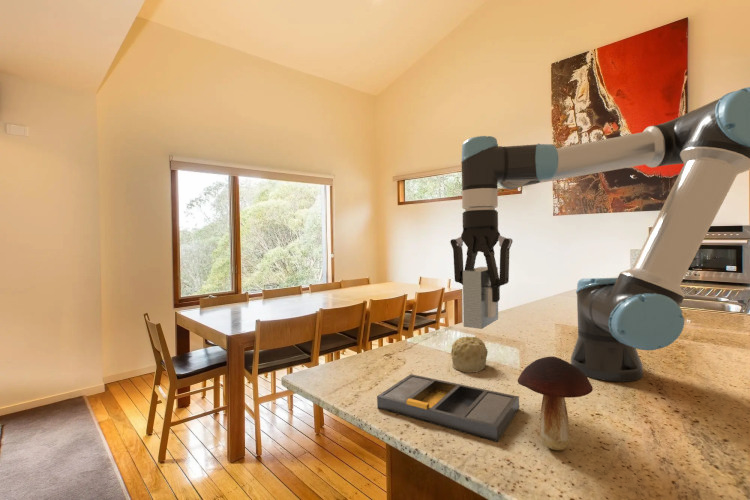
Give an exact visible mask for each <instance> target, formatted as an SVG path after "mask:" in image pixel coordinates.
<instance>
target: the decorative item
mask: <svg viewBox="0 0 750 500" xmlns="http://www.w3.org/2000/svg"><path fill="white" fill-rule="evenodd" d="M450 351H451V352H450V356H451V360H452V367H453V368H454V369H455V370H457V371H460V372H463V373H477V372H478V373H479V372H481V371H482V370H484V369H485V368H486V364H487V357H488V352H489V351H488V349H487V347H486V344H485V343H484V342H483V340H482V339H480V338H479V337H478V336H463V337H459V338H458V339H456V340H455V341H454V342H453V344H452V345H451V350H450Z"/></svg>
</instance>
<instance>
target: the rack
mask: <svg viewBox="0 0 750 500" xmlns="http://www.w3.org/2000/svg"><path fill="white" fill-rule="evenodd" d="M376 403H377V406H376V407H377V409H379V410H383V411H387V412H390V413H393V414H398V415H401V416H404V417H408V418H412V419H415V420H418V421H422V422H425V423H428V424H429V423H430V424H433V425H436V426H439V427H443V428H447V429H450V430H454V431H458V432H461V433H463V434H464V433H465V434H468V435H471V436H475V437H478V438H483V439H485V440H489V441H493V442H495V443H498V442H499V440H500V439H501V437H502V435H503V434H504V433H505V431H506V430H507V428H508V427H509V425H510V424H511V422H512V421H513V419H514V418H515V416H516V414H517V413H518V411H519V410H520V396H517V395H514V394H507V393H504V392H499V391H494V390H490V389H489V390H488V389H484V388H480V387H474V386H471V385H466V384H462V383H461V384H460V383H457V382H456V383H455V382H450V381H446V380H442V379H441V380H440V379H435V378H431V377H427V376H422V375H417V374H412V373H411V374H409V375H407V376H406V377H404V378H402V379H401V380H399V381H398V382H396V383H395V384H393V385H392V386H391V387H389V388H387V389H386V390H384V391H383V392H381V393H379V394H378V395H377V396H376Z"/></svg>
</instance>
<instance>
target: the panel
mask: <svg viewBox="0 0 750 500" xmlns="http://www.w3.org/2000/svg"><path fill="white" fill-rule="evenodd" d="M498 268H499V267H498V266H497V270H499V269H498ZM464 270H465V269H464ZM490 285H491V282H490V278H489V273H488V268H487V266H478V267H474V268H473V269H469V270H465V271H463V285H462V301H463V303H462V305H463V306H462V307H463V308H462V310H463V311H462V312H463V314H462V315H463V328H464V327H465V328H472V329H478V330H482V329H485V328H486V327H488V326H489V325H491V324H492V323H494V322H497V321H498V320H499V301H498V302H495V303H496V316H494V317H492V318H488V287H490Z"/></svg>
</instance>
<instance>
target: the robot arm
mask: <svg viewBox="0 0 750 500" xmlns="http://www.w3.org/2000/svg"><path fill="white" fill-rule="evenodd" d="M497 139H498V138H496V137H494V136H489V135H488V136H487V135H480V136H479V135H478V136H473V137H469V138H467V139H466V140H464V141H463V143H462V145H461V162H460V163H461V188H462V189H461V190H462V191H461V193H462V195H461V200H462V201H461V206H462V207H461V208H462V209H463V210H464V211H463V212H462V213H461V214H462V233H461V236H459V237H457V238H453V239H451V240H450V241H449V243H450V245H451V249H452V251H453V255H452V256H453V270H454V271H453V272H454V281H455V283H459V284H461V285H462V286H463V271H465V270H469V269H473V268H475V265H476V259H477V256H478V253H479V252H480V253H482V254H483V257H484V258H485V259H484V260H485V263H486V267H487V268H488V273H489V278H490V282H491V285H490V287H488V318H492V317H494V316H496V303H495V302H498V303H499V301H500V300H501V299H500V297H501V296H500V294H501V293H500V290H501V289H500V288H501V286H504V285H507V284H508V283H509V278H510V275H509V273H510V249H511V247H512V244H513V239H512V238H509V237H508V238H507V237H504V236H503V235H501V233H500V231H499V212H498V210H496V209H495V208H498V207H499V206H498V203H499V201H498V200H499V199H498V198H499V197H498V196H499V194H498V193H499V191H498V188H499V187H498V184H499V186H501V188H503V189H506V190H515V189H516V190H517V189H519V188H521V187H525V186H527V187H528V186H533V185H536V184H542V183H548V182H552V181H553V182H554V181H558V180H564V179H570V178H574V177H575V178H576V177H582V176H587V175H588V176H589V175H593V174H598V173H603V172H609V171H615V170H622V169H628V168H632V167H639V166H644V165H645V166H647V167H648V168H658V167H664V166H670V165H673V166H674V165H683V166H682V168H681V170H680V172H679V174H678V175H677V178H676V180H675V182H674V184H673V186H672V187H671V190H670V192H669V194H668V196H667V197H666V199H665V201H664V203H663V206H662V207H661V210H660V212H659V213H658V216H657V217H656V220H655V222H654V223H653V225H652V227H651V229H650V231H649V232H648V234H647V237H646V239H645V240H644V243H643V245H642V248H641V250H640V251H639V254H638V256H637V258H636V259H635V261H634V263H633V265H632V267H631V268H629V269H627V270H626V269H625V270H624V271H621V272H620V273H619V275H618V276H617V277H605V278H604V277H601V278H599V277H598V278H594V277H593V278H592V277H591V278H590V277H589V278H581V279H579V280H578V281H577V286H576V287H577V288H576V291H575V293H576V302H577V304H576V306H577V307H576V308H577V309H576V310H577V339H576V342H575V345H574V348H573V351H572V353H571V356H570V364H572V365H574V366H575V367H577V368H578V369H579V370H581V371H582V372H583V373H584V374H585V375H586V377H587V378H591V379H592V378H593V379H597V380H600V381H606V382H607V381H608V382H623V383H624V382H633V381H638V380H640V379H642V378H643V376H644V367H643V363H642V360H641V358H640V356H639V353H638V350H641V351H656V350H659V349H660V350H661V349H663V348H666V347H668V346H670V345H672V344H673V343H674V342H675V341H676V340H678V339H679V337H680V336H681V334H682V333H683V329H684V327H685V317H684V316H683V309H682V308H681V307H680V306H681V304H682V303H683V300H684V299H685V297H686V296H685V293H684V291H683V290H682V288H681V283H682V282H683V280H684V277H685V276H686V275H687V272H688V270H689V268H690V267H691V264H692V262H693V261H694V258H695V257H696V255H697V252H698V251H699V249H700V248H701V246H702V244H703V241H704V239H705V237H706V236H707V233H709V229H710V228H711V226H712V224H713V223H714V220H715V218H716V216H717V214H718V212H719V210H720V208H721V206H722V205H723V203H724V201H725V199H726V197H727V195H728V193H729V191H730V189H731V188H732V186H733V184H734V182H735V180H736V178H737V176H738V175H739V174H742V173H745V172H747V171H750V86H749V87H744V88H741V89H737V90H734V91H730V92H728V93H726V94H724V95H723V96H721V97H720V98H717V99H715V100H713V101H711V102H709V103H707V104H704V105H702V106H700V107H698V108H695V109H693V110H691V111H689V112H687V113H685V114H683V115H680V116H678V117H675V118H674V119H671V120H669V121H666V122H663V123H658V124H655V125H649V126H647V127H646V128H644V130H643V131H642V132H636V133H631V134H626V135H622V136H616V137H611V138H606V139H600V140H595V141H589V142H585V143H580V144H579V143H578V144H574V145H570V146H563V147H559V148H557V146H555V145H554V144H548V143H546V144H544V143H537V144H526V145H525V144H523V145H522V144H521V145H510V146H502V145H500V146H499V144H498V141H497ZM498 242H499V243H498ZM463 243H464V244H463ZM497 243H498V245H499V247H500V249H499V251H500V252H499V269H498V270H499V271H498V270H497V267H498V266H497V262H496V258H495V250H494V247H495V246H496V245H497ZM464 245H465V246H466V247H467V250H466V261H465V265H464V255H463V246H464Z"/></svg>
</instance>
